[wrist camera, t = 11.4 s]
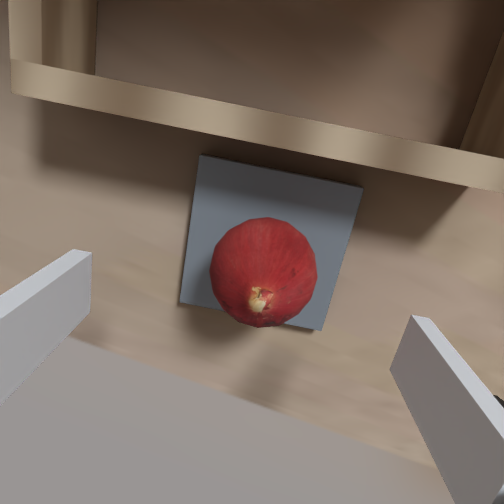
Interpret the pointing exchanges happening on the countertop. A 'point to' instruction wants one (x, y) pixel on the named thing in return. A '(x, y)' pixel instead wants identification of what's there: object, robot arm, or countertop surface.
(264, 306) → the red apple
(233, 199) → the slate mat
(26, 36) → the box
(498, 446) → the robot arm
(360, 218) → the countertop surface
